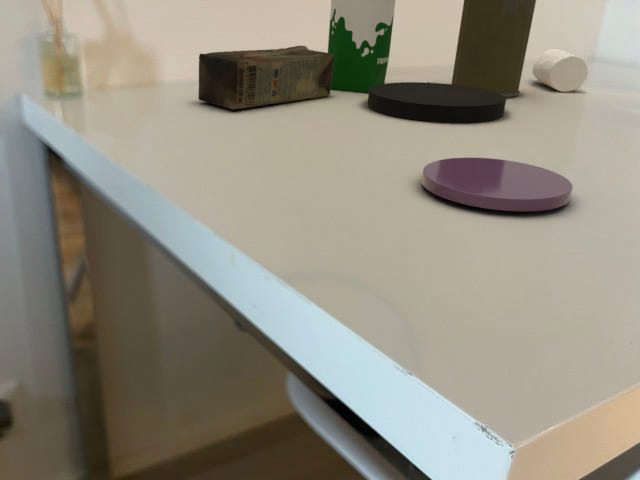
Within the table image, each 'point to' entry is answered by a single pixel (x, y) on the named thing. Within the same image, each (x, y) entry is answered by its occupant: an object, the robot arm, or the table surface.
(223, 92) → the beverage carton
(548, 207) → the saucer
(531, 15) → the canister
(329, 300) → the table surface
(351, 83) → the milk carton
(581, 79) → the roll
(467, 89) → the wireless charger
